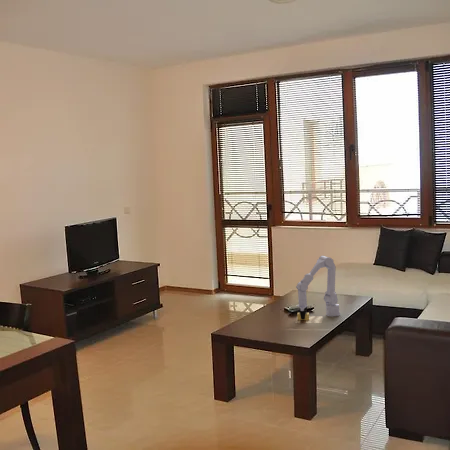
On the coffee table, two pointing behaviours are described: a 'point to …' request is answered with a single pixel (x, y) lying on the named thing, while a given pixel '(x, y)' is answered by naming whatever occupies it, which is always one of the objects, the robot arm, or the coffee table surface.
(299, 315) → the stud finder
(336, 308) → the robot arm
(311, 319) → the subfloor
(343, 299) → the coffee table surface
